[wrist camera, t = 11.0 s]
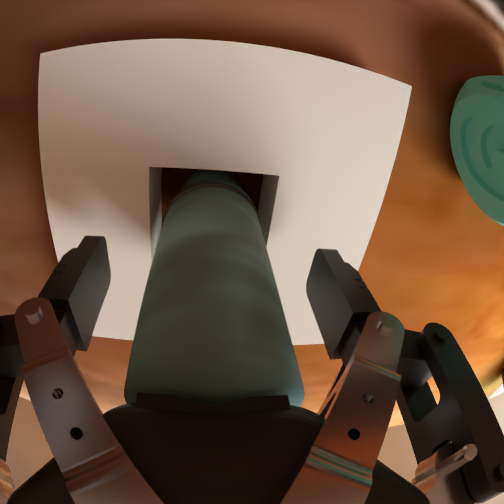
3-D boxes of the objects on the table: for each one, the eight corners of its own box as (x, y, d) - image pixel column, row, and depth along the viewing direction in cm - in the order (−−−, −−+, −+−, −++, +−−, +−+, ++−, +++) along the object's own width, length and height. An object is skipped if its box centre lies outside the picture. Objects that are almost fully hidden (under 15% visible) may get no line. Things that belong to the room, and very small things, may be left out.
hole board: (375, 80, 13) (411, 86, 10) (313, 307, 22) (326, 343, 19) (74, 54, 11) (40, 53, 8) (94, 298, 19) (80, 334, 16)
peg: (256, 163, 15) (331, 351, 5) (246, 233, 18) (284, 435, 8) (174, 157, 15) (102, 345, 5) (172, 229, 17) (139, 434, 7)
